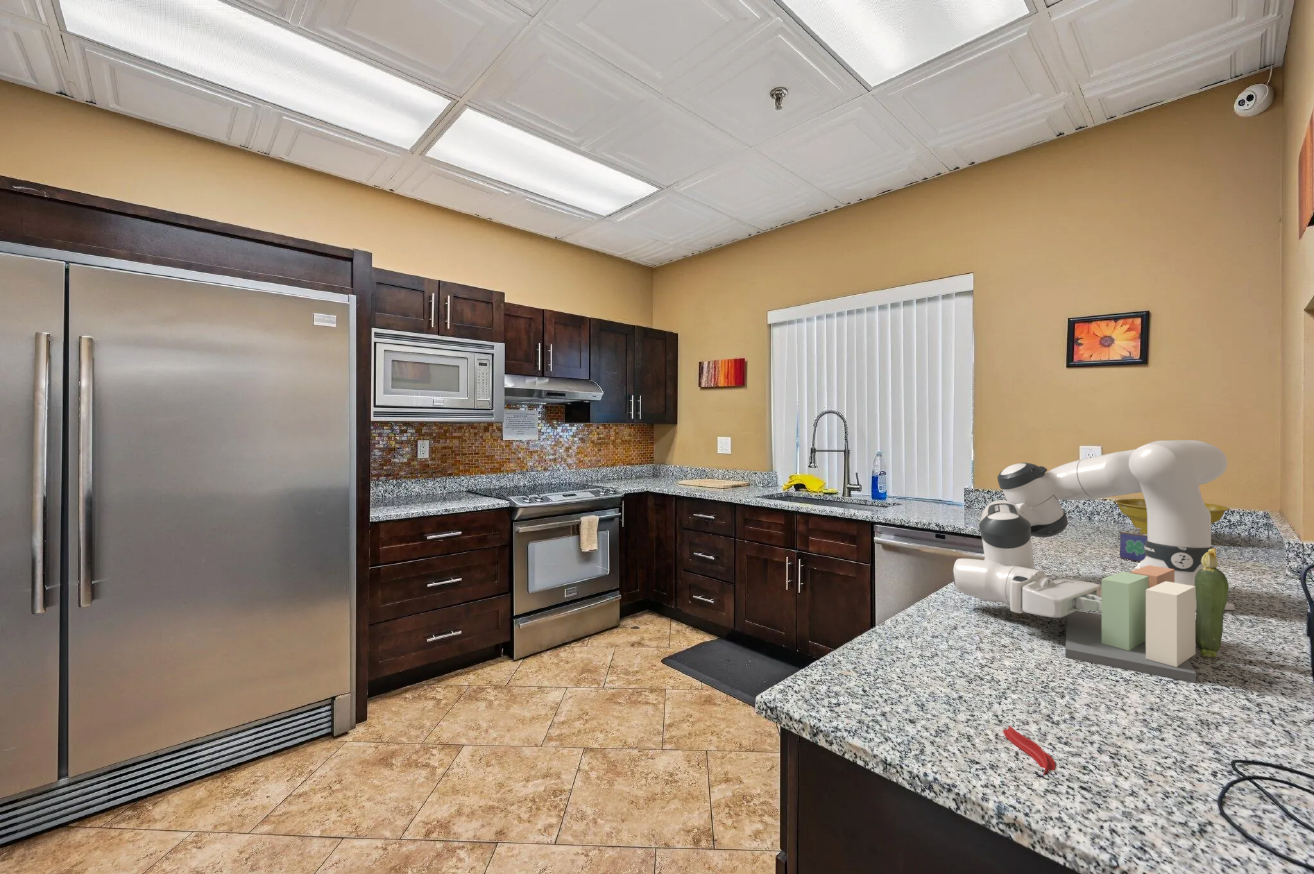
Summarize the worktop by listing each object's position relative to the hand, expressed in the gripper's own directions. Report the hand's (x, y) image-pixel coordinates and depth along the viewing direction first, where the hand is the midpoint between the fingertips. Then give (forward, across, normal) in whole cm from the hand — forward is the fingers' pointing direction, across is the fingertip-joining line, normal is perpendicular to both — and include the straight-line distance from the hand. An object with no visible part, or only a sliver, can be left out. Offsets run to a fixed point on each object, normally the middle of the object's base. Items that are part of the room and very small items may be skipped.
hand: (1111, 607), depth 104 cm
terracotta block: (+3, -11, -6) cm, 13 cm away
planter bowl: (-31, -150, -8) cm, 153 cm away
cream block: (+9, +2, -6) cm, 11 cm away
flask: (-23, -92, -8) cm, 95 cm away
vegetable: (+12, -9, -8) cm, 17 cm away
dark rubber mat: (+1, -3, -8) cm, 8 cm away
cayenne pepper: (+8, +51, -8) cm, 52 cm away
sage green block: (+2, 0, -6) cm, 6 cm away
